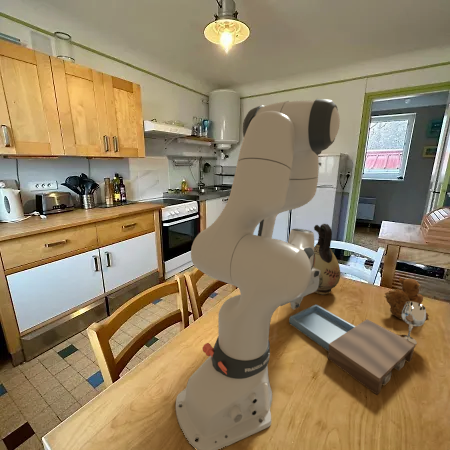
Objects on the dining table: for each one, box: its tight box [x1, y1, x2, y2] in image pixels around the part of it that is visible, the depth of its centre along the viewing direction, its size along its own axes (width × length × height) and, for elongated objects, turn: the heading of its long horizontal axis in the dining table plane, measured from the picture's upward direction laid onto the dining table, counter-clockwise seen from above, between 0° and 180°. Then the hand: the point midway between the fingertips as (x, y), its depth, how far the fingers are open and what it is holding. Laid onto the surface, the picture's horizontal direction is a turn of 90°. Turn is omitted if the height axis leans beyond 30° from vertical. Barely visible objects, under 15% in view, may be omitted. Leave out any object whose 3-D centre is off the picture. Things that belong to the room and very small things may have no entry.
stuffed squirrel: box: [383, 278, 429, 321], centre depth 86 cm, size 10×14×13 cm
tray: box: [288, 304, 357, 352], centre depth 78 cm, size 14×18×2 cm
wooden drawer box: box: [327, 318, 417, 396], centre depth 66 cm, size 20×13×5 cm, turn 123°
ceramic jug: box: [313, 223, 341, 296], centre depth 100 cm, size 17×15×30 cm
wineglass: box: [399, 301, 427, 345], centre depth 73 cm, size 6×6×12 cm
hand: (295, 307), depth 88 cm, fingers closed
